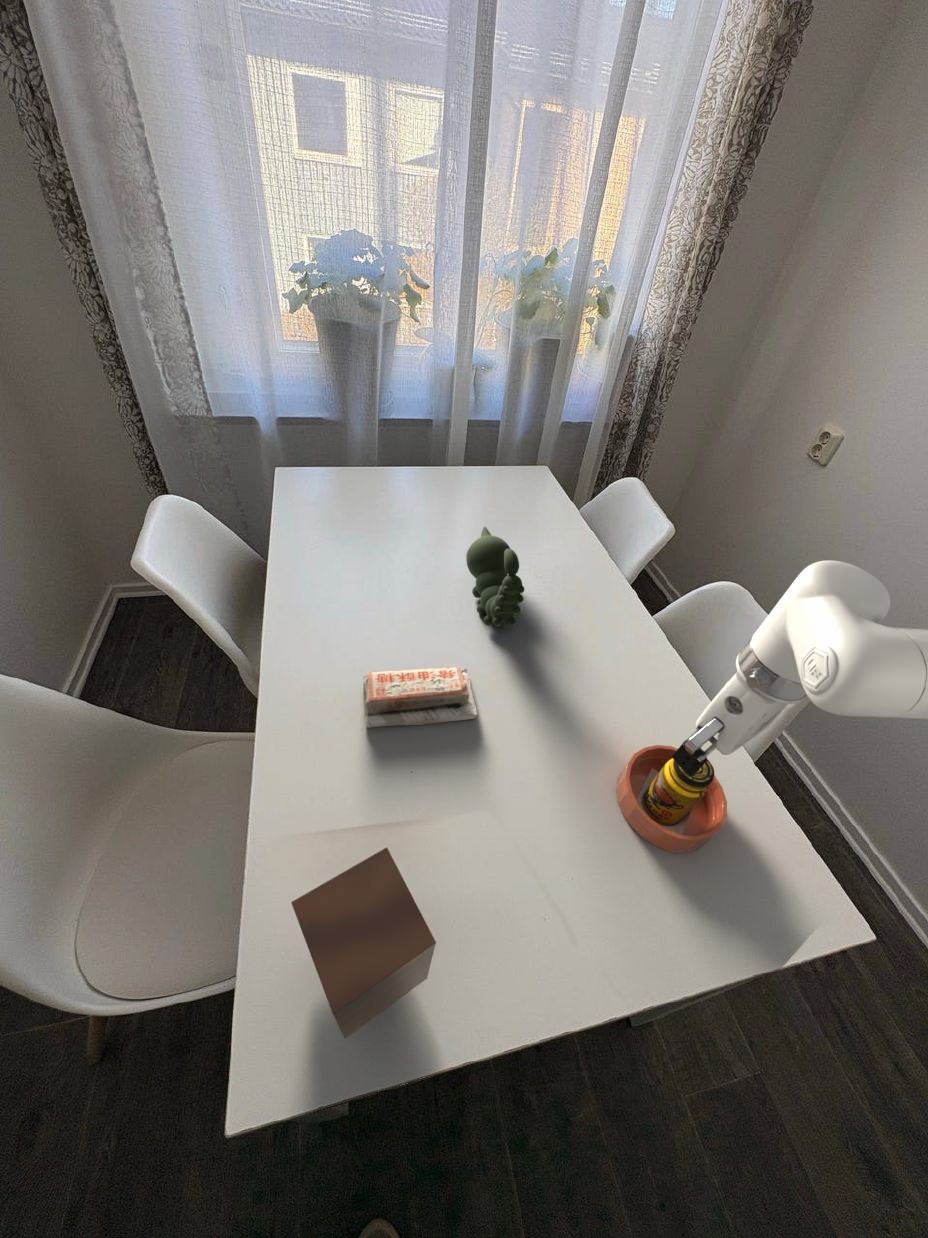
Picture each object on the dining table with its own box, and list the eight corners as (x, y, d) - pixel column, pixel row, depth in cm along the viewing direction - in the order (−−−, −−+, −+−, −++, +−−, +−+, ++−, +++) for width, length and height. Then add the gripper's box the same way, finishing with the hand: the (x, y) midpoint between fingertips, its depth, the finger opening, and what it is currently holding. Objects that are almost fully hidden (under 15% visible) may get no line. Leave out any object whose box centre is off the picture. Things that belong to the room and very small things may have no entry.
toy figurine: (522, 645, 99) (499, 555, 114) (546, 576, 84) (516, 484, 100) (475, 647, 97) (458, 556, 113) (490, 577, 83) (468, 484, 98)
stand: (427, 978, 58) (436, 942, 47) (344, 1039, 54) (333, 1015, 43) (387, 896, 64) (386, 846, 53) (309, 945, 59) (290, 902, 48)
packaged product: (364, 712, 77) (361, 662, 84) (365, 730, 80) (363, 680, 87) (480, 703, 80) (469, 655, 87) (477, 720, 84) (466, 673, 90)
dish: (732, 820, 76) (747, 807, 73) (668, 873, 70) (682, 860, 66) (659, 745, 84) (670, 730, 81) (596, 786, 77) (605, 772, 74)
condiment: (631, 809, 75) (662, 769, 67) (651, 768, 80) (682, 726, 72) (679, 840, 73) (717, 802, 64) (696, 795, 78) (734, 755, 69)
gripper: (761, 727, 48) (686, 806, 61) (853, 661, 56) (770, 742, 68) (698, 672, 52) (640, 756, 65) (792, 617, 60) (724, 701, 72)
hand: (707, 749), depth 66 cm, fingers open, 9 cm apart
